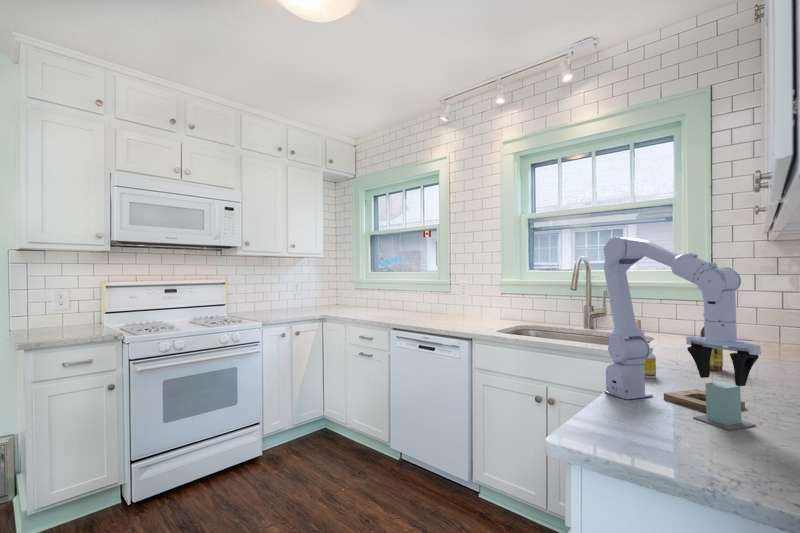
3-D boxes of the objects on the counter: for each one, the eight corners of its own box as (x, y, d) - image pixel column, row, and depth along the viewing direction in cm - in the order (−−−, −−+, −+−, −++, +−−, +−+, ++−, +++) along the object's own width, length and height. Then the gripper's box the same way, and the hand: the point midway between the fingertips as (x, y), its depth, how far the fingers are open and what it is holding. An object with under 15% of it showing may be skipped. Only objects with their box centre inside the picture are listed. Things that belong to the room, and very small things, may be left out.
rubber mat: (730, 430, 85) (730, 429, 85) (692, 418, 93) (692, 416, 93) (756, 426, 88) (756, 424, 88) (717, 414, 95) (717, 413, 95)
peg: (727, 425, 88) (726, 388, 88) (706, 418, 92) (705, 383, 92) (741, 422, 89) (740, 386, 89) (720, 416, 93) (719, 381, 93)
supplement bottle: (659, 378, 129) (658, 348, 129) (640, 378, 130) (639, 347, 130) (652, 374, 134) (651, 345, 135) (634, 374, 136) (633, 345, 136)
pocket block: (710, 413, 96) (709, 406, 96) (663, 399, 108) (663, 393, 108) (745, 408, 100) (744, 401, 100) (696, 394, 111) (696, 389, 111)
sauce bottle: (718, 372, 137) (716, 313, 138) (697, 368, 142) (695, 312, 143) (727, 369, 140) (725, 312, 141) (706, 366, 146) (704, 311, 146)
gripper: (769, 323, 85) (771, 387, 85) (700, 317, 99) (702, 372, 99) (746, 325, 83) (748, 391, 83) (679, 318, 97) (680, 375, 97)
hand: (722, 381), depth 91 cm, fingers open, 7 cm apart
